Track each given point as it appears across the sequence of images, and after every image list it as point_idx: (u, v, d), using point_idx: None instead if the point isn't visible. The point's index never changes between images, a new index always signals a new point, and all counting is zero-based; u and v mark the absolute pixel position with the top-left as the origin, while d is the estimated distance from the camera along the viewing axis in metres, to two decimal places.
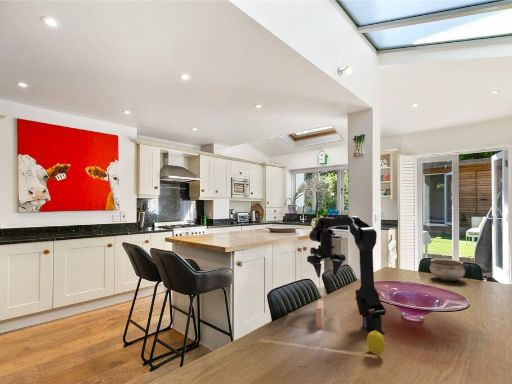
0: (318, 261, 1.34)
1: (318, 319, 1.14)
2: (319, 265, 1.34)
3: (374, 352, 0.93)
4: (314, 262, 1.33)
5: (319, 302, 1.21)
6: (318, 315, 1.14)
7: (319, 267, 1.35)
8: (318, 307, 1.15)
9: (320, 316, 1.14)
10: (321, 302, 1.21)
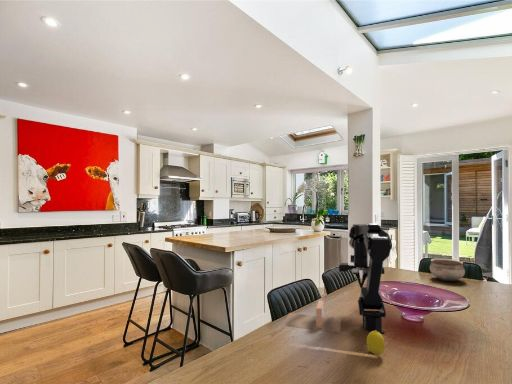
0: (344, 269, 1.29)
1: (318, 319, 1.14)
2: (357, 274, 1.27)
3: (374, 352, 0.93)
4: (340, 270, 1.30)
5: (319, 302, 1.21)
6: (318, 315, 1.14)
7: (357, 276, 1.28)
8: (318, 307, 1.15)
9: (320, 316, 1.14)
10: (321, 302, 1.21)
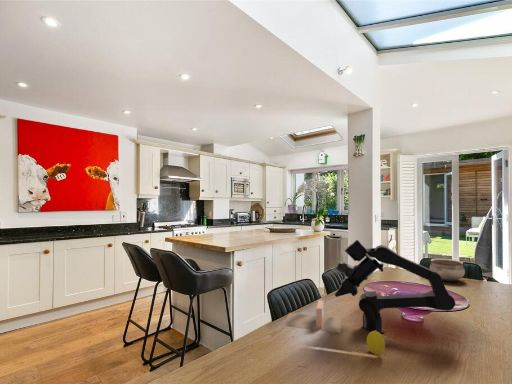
0: None
1: (318, 319, 1.14)
2: None
3: (374, 352, 0.93)
4: (354, 295, 1.07)
5: (319, 302, 1.21)
6: (318, 315, 1.14)
7: None
8: (318, 307, 1.15)
9: (320, 316, 1.14)
10: (321, 302, 1.21)
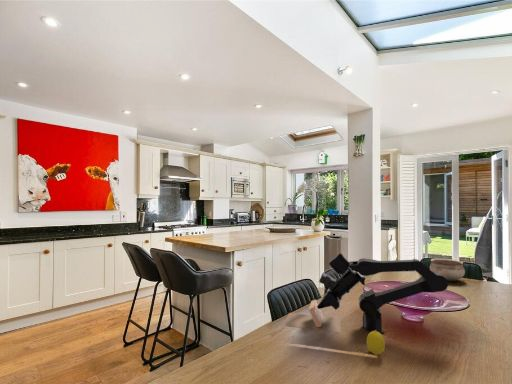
0: None
1: (315, 319, 1.14)
2: None
3: (374, 352, 0.93)
4: (336, 308, 1.09)
5: (312, 302, 1.22)
6: (313, 315, 1.15)
7: None
8: (310, 307, 1.16)
9: (315, 315, 1.14)
10: (314, 301, 1.22)
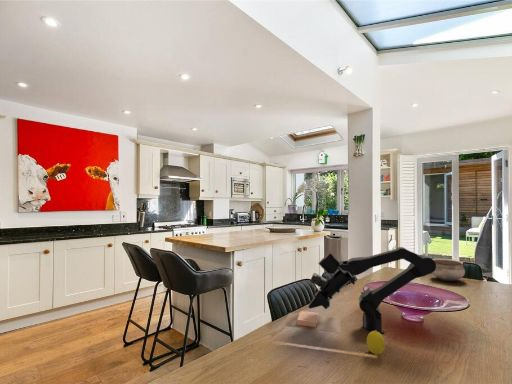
0: None
1: (307, 324, 1.15)
2: None
3: (374, 352, 0.93)
4: (326, 308, 1.10)
5: None
6: (304, 323, 1.16)
7: None
8: None
9: (304, 321, 1.16)
10: None
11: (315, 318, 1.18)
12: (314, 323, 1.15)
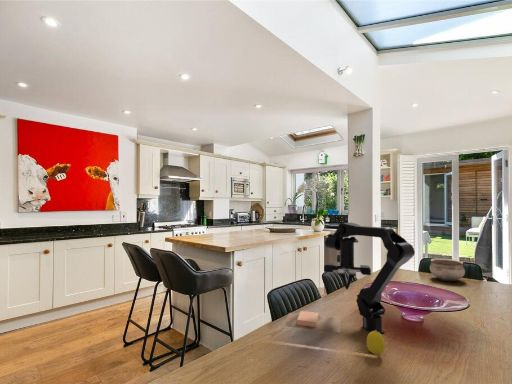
0: (329, 270, 1.23)
1: (307, 324, 1.15)
2: (342, 275, 1.22)
3: (374, 352, 0.93)
4: (325, 270, 1.24)
5: None
6: (304, 323, 1.16)
7: (343, 277, 1.22)
8: None
9: (304, 321, 1.16)
10: None
11: (315, 318, 1.18)
12: (314, 323, 1.15)
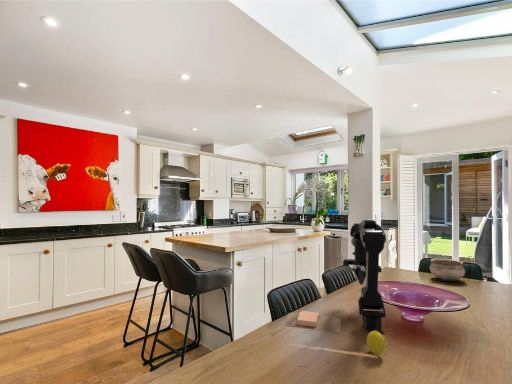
0: (345, 264, 1.40)
1: (307, 324, 1.15)
2: (353, 270, 1.35)
3: (374, 352, 0.93)
4: (343, 264, 1.42)
5: None
6: (304, 323, 1.16)
7: (355, 272, 1.35)
8: None
9: (304, 321, 1.16)
10: None
11: (315, 318, 1.18)
12: (314, 323, 1.15)
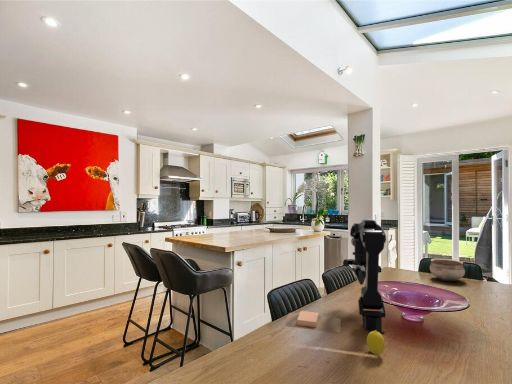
0: (345, 264, 1.40)
1: (307, 324, 1.15)
2: (353, 270, 1.35)
3: (374, 352, 0.93)
4: (343, 264, 1.42)
5: None
6: (304, 323, 1.16)
7: (355, 272, 1.35)
8: None
9: (304, 321, 1.16)
10: None
11: (315, 318, 1.18)
12: (314, 323, 1.15)
